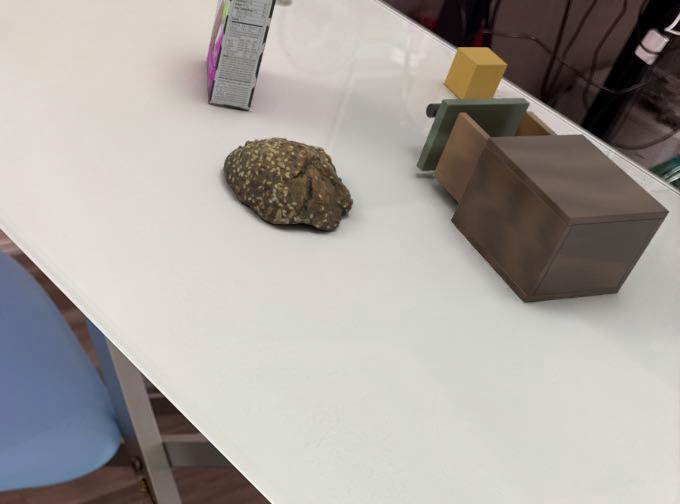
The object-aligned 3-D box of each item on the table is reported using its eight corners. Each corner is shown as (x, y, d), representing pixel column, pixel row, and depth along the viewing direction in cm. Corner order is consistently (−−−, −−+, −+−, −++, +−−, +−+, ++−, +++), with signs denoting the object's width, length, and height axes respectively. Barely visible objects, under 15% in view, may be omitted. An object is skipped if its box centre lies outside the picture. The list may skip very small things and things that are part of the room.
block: (443, 83, 120) (458, 46, 117) (472, 83, 121) (488, 47, 118) (462, 101, 117) (477, 64, 114) (491, 101, 119) (508, 64, 115)
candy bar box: (203, 59, 113) (236, -101, 101) (245, 66, 114) (283, -92, 102) (205, 105, 106) (240, -62, 94) (250, 112, 107) (291, -52, 94)
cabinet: (450, 220, 99) (488, 137, 92) (540, 214, 103) (582, 133, 96) (524, 302, 91) (571, 218, 84) (618, 293, 95) (670, 211, 88)
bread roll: (210, 160, 99) (221, 113, 95) (321, 161, 102) (336, 115, 99) (252, 234, 91) (266, 186, 87) (370, 233, 95) (388, 186, 91)
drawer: (396, 143, 106) (421, 77, 100) (473, 141, 109) (501, 77, 104) (477, 233, 96) (510, 165, 91) (559, 227, 100) (595, 162, 94)
